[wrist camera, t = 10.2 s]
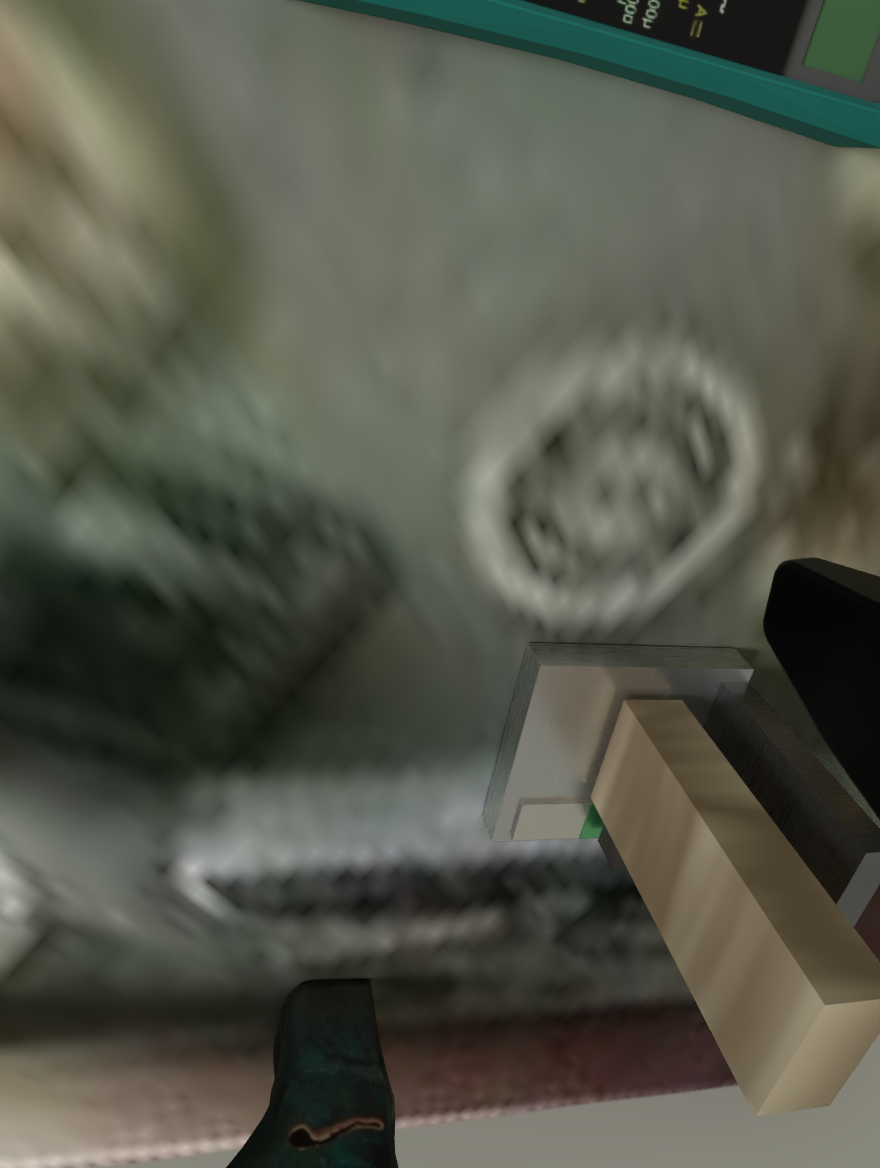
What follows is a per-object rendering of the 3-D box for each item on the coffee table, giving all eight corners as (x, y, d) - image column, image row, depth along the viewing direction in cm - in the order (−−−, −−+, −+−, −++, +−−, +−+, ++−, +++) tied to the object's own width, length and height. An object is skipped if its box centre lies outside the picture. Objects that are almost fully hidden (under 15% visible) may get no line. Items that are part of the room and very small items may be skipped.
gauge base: (482, 815, 28) (562, 1046, 21) (527, 642, 25) (641, 850, 18) (668, 809, 30) (797, 1018, 23) (734, 648, 27) (908, 836, 20)
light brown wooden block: (576, 836, 27) (728, 1160, 19) (623, 699, 25) (825, 1005, 16) (643, 834, 28) (817, 1145, 20) (695, 700, 25) (924, 993, 17)
